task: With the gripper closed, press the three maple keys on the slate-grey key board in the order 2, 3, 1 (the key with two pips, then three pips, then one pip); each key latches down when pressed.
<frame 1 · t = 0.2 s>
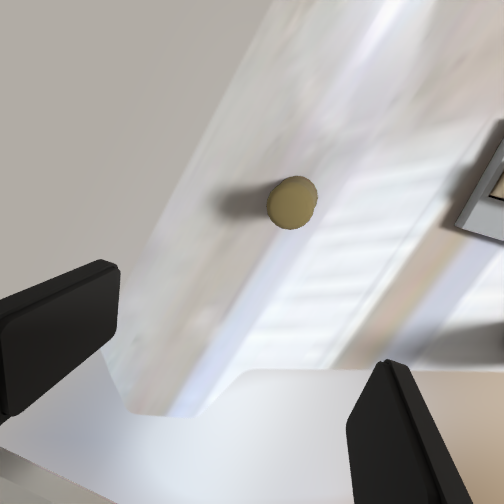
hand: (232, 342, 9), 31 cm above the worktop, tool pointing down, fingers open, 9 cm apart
cork: (296, 197, 37), on the worktop
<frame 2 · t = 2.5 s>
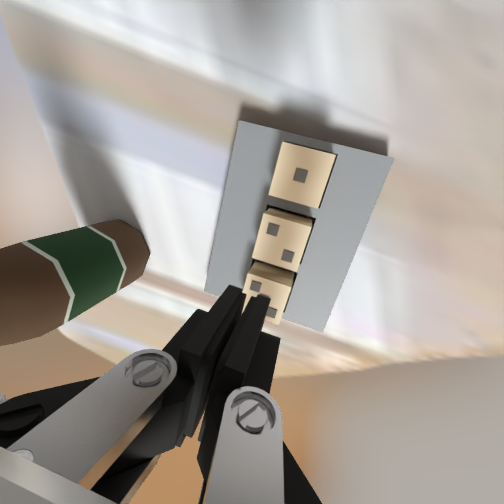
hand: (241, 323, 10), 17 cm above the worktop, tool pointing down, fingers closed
beer bottle: (124, 249, 31), on the worktop
key 3: (266, 291, 25), point 3 cm above the worktop, slide at 0.0 cm
key 2: (282, 238, 23), point 3 cm above the worktop, slide at 0.0 cm
key board: (286, 230, 26), on the worktop
key 1: (301, 175, 21), point 3 cm above the worktop, slide at 0.0 cm
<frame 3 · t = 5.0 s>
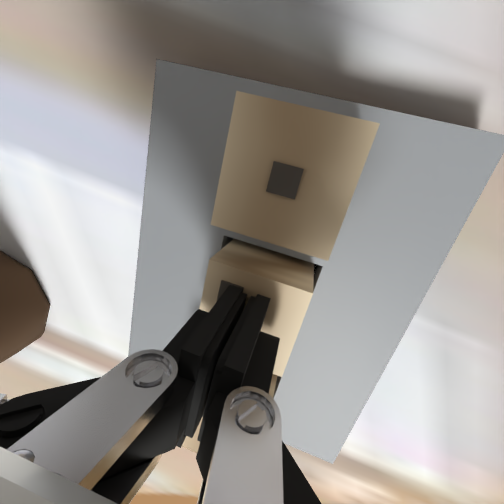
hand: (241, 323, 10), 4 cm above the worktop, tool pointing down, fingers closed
beer bottle: (13, 294, 20), on the worktop
key 3: (227, 397, 13), point 3 cm above the worktop, slide at 0.0 cm
key 2: (256, 299, 12), point 3 cm above the worktop, slide at 0.6 cm, touching gripper
key board: (266, 278, 14), on the worktop
key 1: (290, 178, 9), point 3 cm above the worktop, slide at 0.0 cm
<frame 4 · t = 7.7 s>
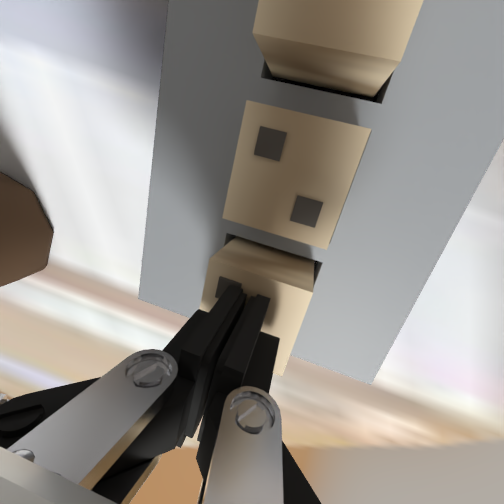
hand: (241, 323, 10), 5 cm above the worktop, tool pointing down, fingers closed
beer bottle: (13, 224, 18), on the worktop
key 3: (256, 299, 12), point 3 cm above the worktop, slide at 0.2 cm, touching gripper
key 2: (293, 177, 10), point 2 cm above the worktop, slide at 0.7 cm
key board: (297, 175, 13), on the worktop
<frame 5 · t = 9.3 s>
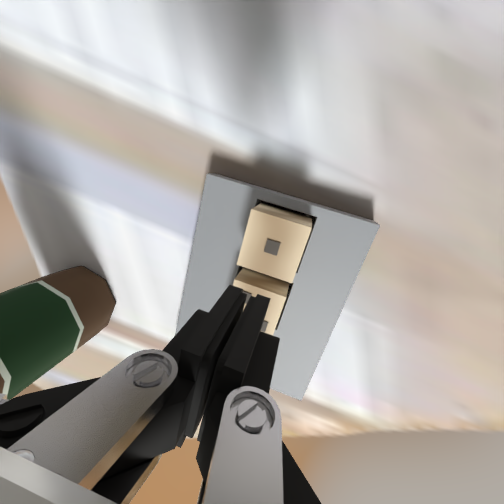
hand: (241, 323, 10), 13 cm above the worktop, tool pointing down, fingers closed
beer bottle: (88, 295, 29), on the worktop
key 2: (257, 300, 21), point 2 cm above the worktop, slide at 0.7 cm
key board: (262, 288, 24), on the worktop
key 1: (275, 240, 19), point 3 cm above the worktop, slide at 0.0 cm
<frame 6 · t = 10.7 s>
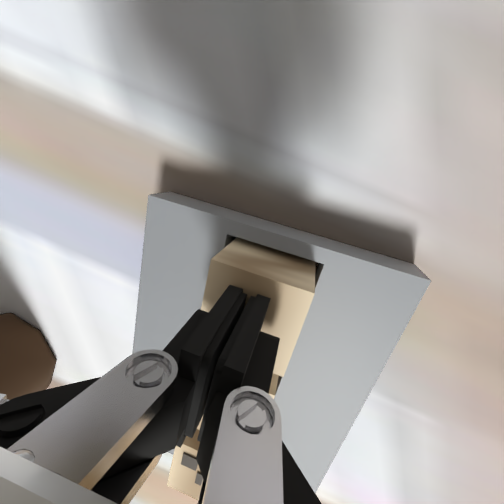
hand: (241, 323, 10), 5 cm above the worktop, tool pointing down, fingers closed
beer bottle: (23, 348, 22), on the worktop
key 3: (215, 448, 16), point 2 cm above the worktop, slide at 0.7 cm
key 2: (234, 382, 14), point 2 cm above the worktop, slide at 0.7 cm
key board: (246, 353, 16), on the worktop
key 1: (258, 299, 12), point 3 cm above the worktop, slide at 0.4 cm, touching gripper
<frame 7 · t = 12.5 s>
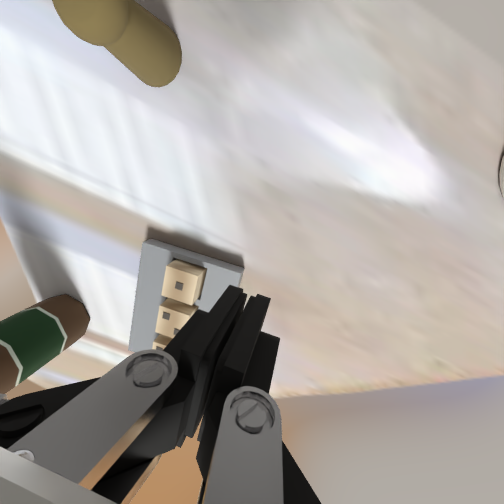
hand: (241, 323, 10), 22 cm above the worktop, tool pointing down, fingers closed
cork: (156, 56, 28), on the worktop
beer bottle: (70, 314, 41), on the worktop
key 3: (171, 350, 36), point 2 cm above the worktop, slide at 0.7 cm
key 2: (178, 316, 34), point 2 cm above the worktop, slide at 0.7 cm
key board: (185, 308, 37), on the worktop
key 1: (185, 280, 33), point 2 cm above the worktop, slide at 0.7 cm
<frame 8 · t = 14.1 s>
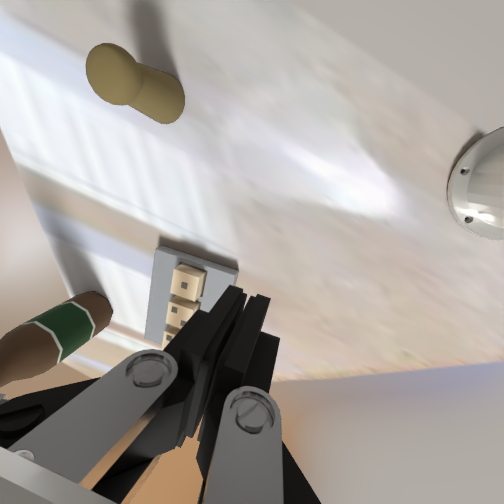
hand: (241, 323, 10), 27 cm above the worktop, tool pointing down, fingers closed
cork: (164, 99, 35), on the worktop
beer bottle: (97, 307, 49), on the worktop
key 3: (179, 338, 43), point 2 cm above the worktop, slide at 0.7 cm
key 2: (184, 310, 41), point 2 cm above the worktop, slide at 0.7 cm
key board: (191, 303, 43), on the worktop
key 1: (189, 280, 39), point 2 cm above the worktop, slide at 0.7 cm
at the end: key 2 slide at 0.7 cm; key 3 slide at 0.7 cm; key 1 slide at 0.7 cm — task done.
